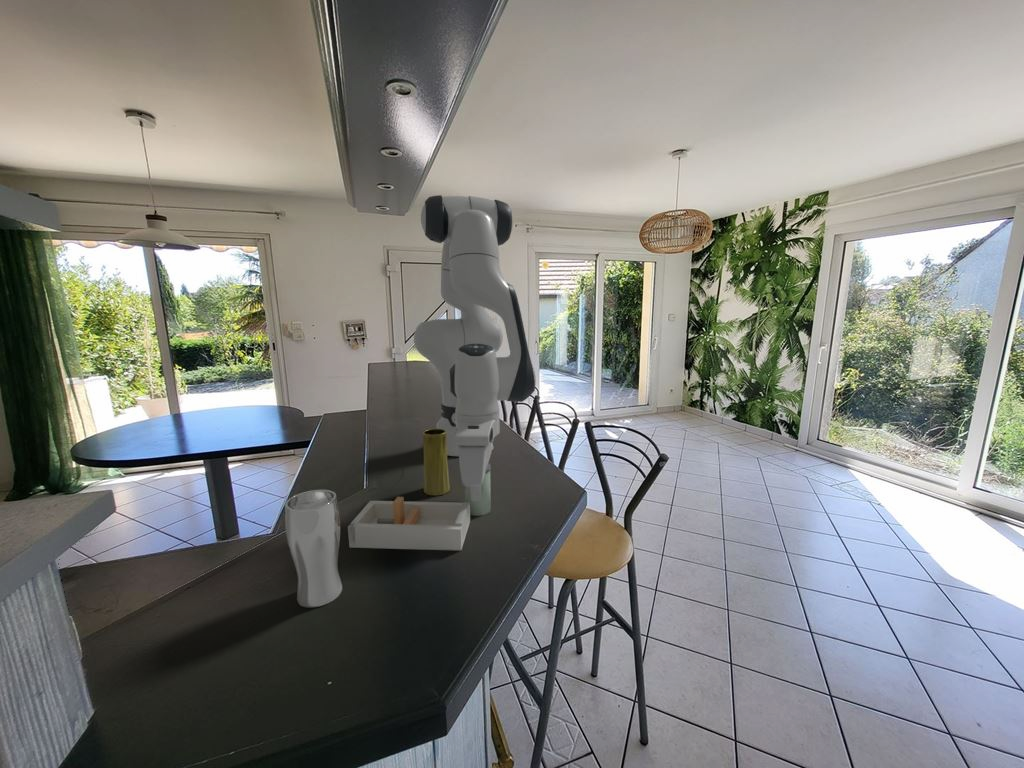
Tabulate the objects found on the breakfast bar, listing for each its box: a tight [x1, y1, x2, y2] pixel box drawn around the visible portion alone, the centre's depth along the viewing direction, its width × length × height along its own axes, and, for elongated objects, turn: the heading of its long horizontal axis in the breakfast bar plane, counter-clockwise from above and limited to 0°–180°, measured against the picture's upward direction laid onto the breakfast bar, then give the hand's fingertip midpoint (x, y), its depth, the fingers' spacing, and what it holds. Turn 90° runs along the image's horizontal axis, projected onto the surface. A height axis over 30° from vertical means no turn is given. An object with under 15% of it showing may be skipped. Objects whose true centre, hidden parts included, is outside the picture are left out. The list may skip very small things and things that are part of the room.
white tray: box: [347, 500, 471, 551], centre depth 77 cm, size 10×20×4 cm, turn 87°
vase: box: [422, 427, 451, 497], centre depth 94 cm, size 6×6×14 cm
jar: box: [464, 462, 492, 517], centre depth 85 cm, size 5×5×10 cm
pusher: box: [377, 496, 420, 525], centre depth 76 cm, size 7×7×6 cm
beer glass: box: [284, 489, 343, 609], centre depth 59 cm, size 7×7×15 cm
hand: (479, 489), depth 85 cm, fingers open, 8 cm apart
